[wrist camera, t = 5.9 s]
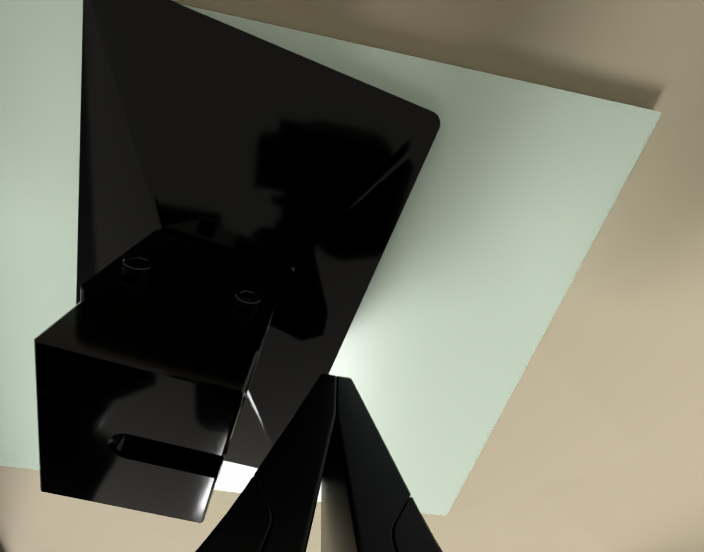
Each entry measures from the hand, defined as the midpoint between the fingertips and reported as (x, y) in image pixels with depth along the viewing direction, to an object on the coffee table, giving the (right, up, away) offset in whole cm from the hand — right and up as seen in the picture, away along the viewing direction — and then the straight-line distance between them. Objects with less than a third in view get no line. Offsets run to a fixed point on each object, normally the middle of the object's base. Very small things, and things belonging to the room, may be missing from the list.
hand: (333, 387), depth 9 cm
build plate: (-3, +2, +1) cm, 4 cm away
